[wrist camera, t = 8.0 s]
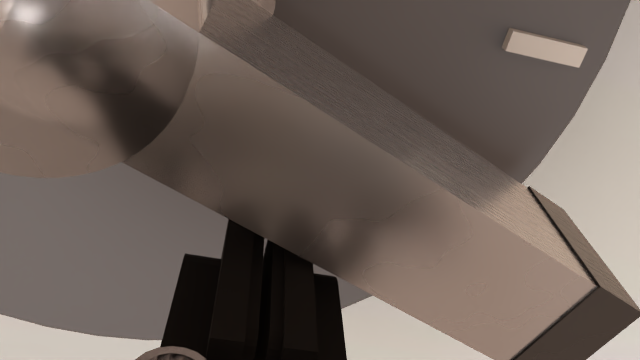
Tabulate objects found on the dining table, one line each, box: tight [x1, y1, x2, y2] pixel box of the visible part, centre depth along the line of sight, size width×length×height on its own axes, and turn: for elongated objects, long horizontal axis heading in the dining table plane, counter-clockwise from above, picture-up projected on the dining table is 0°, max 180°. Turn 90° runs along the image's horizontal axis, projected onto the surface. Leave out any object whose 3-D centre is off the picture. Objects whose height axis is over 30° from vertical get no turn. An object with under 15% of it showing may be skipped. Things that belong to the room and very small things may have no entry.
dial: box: [0, 0, 640, 360], centre depth 11 cm, size 15×7×6 cm, turn 55°
